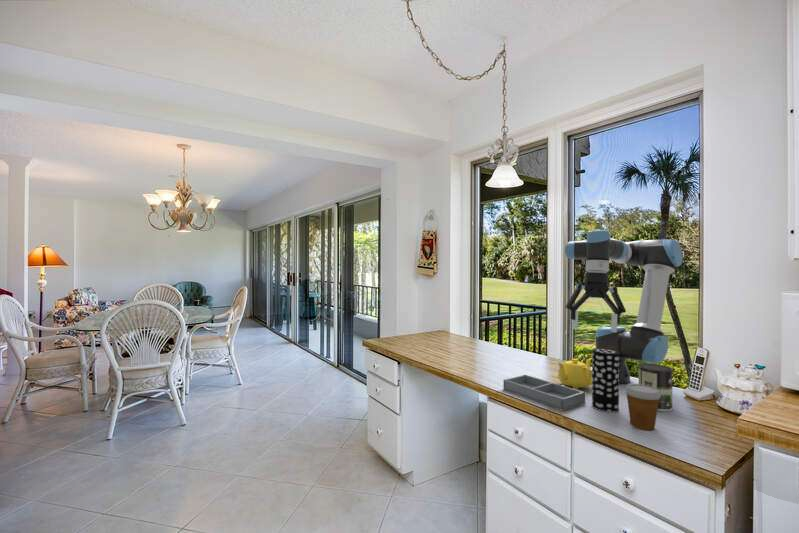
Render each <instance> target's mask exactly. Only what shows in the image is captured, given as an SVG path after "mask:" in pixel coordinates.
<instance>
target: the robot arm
mask: <svg viewBox="0 0 799 533" xmlns="http://www.w3.org/2000/svg"><path fill="white" fill-rule="evenodd" d="M564 254H565V257H566V258H567V259H569V260H585V271H586V272H585V273H584V274H585V275H584V278H585V279H584V285H583V284H575V289H574V291H573V293H572V295H571V296H570V297H569V299H568V302H567V303H566V305H565V309H567V310H569V311H570V319H571V320H572V329H574V330H579V329H578V327H579V326H578V323H579V311H577V310H578V309H579V308H580V307H582V305H583V304H584V303H585V302H586V301H587V300H589V298H593V299H595V298H597V299H602V300H603V301H604V302H605V304H607V306H608V307H609V308H610V310H612V312H613V313H611V322H610V326H603V327H601V326H600V327H598V328H597V329H596V330H595V349H610V350H615V351H618V352H619V384H628V383H630V382H631V374H630V372H629V369H628V367H627V362H626V361H627V360H626V359H628V360H633V361H638V362H643V363H644V364H657V365H658V364H659V363H661V362H662V361H663V360H665V358H666V356H667V353H668V351H669V340H668V338H667V337H666V336H665V332H664V331H663V330H662V329H661V327H662V326H661V325H662V321H663V320H662V319H663V313H664V309H665V308H664V307H665V302H666V296H667V290H668V285H669V280H670V275H671V274H673V273H675V271H676V267H677V268H678V267H680V266H681V265H682V264H683V260H684V255H683V250H682V246H681V245H680V243H679V241H677V240H675V239H670V238H669V239H667V238H662V239H648V240H634V241H623V240H621V239H618V238H617V239H616V238H612V237H611V232H610V231H609V230H605V229H594V230H589V231H588V232H587V236H586V240H574V241H573V240H572V241H568V242H567V243H566V244H565V246H564ZM610 261H613V262H615V263H616V264H622V265H623V264H624V265H630V266H635V267H642V269H643V270H644V272H645V273H644V279H643V284H642V288H641V290H642V291H641V296H640V300H639V301H640V302H639V306H638V310H637V316H636V321H635V323H634V324H633V325H631V327H630V331H627V328H626V327H625V326H618V324H619V323H620V322H621V321H620V320H621V319H620V318H621V315H622V314H623V313H626V312H627V311H626V308H625V306H624V304H623V301H622V299H621V297H620V295H619V292H618V287H617V286H609V273H608V272H609V269H610V268H609V267H610ZM582 291H585V292H584V293H583V294H582V296H580V298H579V299H578V300H577V298H578V297H579V295H580V293H581V292H582ZM608 292H609V293H610V294H611V297H612V298H613V300H614V302H613V300H612V299H611V298H610V296H609V294H608ZM576 300H577V301H576ZM627 382H628V383H627Z"/></svg>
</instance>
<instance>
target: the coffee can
mask: <svg viewBox="0 0 799 533" xmlns="http://www.w3.org/2000/svg"><path fill="white" fill-rule="evenodd" d="M637 367H638V384H641V385H647V386H651V387H654V388H656V389H658V390H659V392H660V394H661V397H660V399H659V402H658V409H657V412H672V411H673V372H674V371H673V370H674V369H673V368H671V367H670V366H667V365H666V366H665V365H661V364H658V363H657V364H654V363H639V364H638V365H637Z"/></svg>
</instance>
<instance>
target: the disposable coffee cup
mask: <svg viewBox="0 0 799 533" xmlns="http://www.w3.org/2000/svg"><path fill="white" fill-rule="evenodd" d="M624 391H625V393H626V399H627V406H628V414H629V421H630V422H629V423H630V426H632V427H633V428H635V429H637V430H642V431H654V430H655V426H656V421H657V415H658V411H657V409H658V402H659V399H660V397H661V394H660V392H659V390H658V389H656V388H654V387H651V386H647V385H641V384H639V383H629V384H627V385H626V387H625V388H624Z"/></svg>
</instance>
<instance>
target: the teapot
mask: <svg viewBox="0 0 799 533" xmlns="http://www.w3.org/2000/svg"><path fill="white" fill-rule="evenodd" d="M591 361H592V357H589V358H587V359H586V362H583V361H579V359H578V358H572V359H571V360H566V361H564V362H563V363H562V362H557V364H558V366H559V369H558V373H557V374H558V375H557V378H558V380H559V381H560V383H562V384H561V385H564V386H566V387H572V388H573V389H576V390H579V389H580V388H582V387H583V388H582V389H586V388H588V389H589V386H592V368H591ZM579 391H580V390H579Z"/></svg>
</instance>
